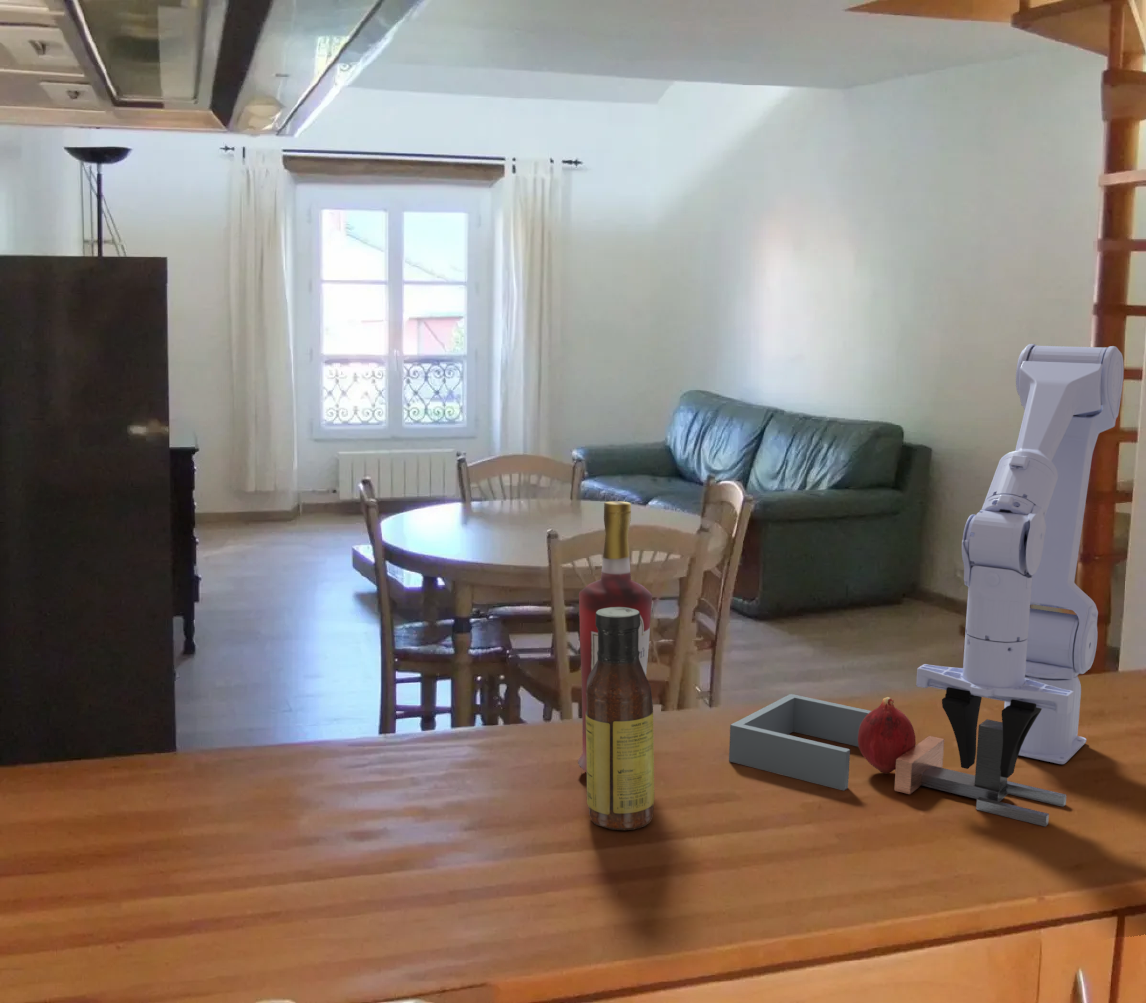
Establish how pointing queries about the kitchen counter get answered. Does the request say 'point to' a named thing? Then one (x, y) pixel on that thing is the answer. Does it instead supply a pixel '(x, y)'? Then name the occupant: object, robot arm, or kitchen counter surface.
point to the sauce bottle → (619, 726)
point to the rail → (1021, 812)
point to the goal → (798, 739)
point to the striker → (927, 770)
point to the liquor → (611, 598)
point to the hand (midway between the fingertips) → (986, 770)
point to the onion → (885, 736)
